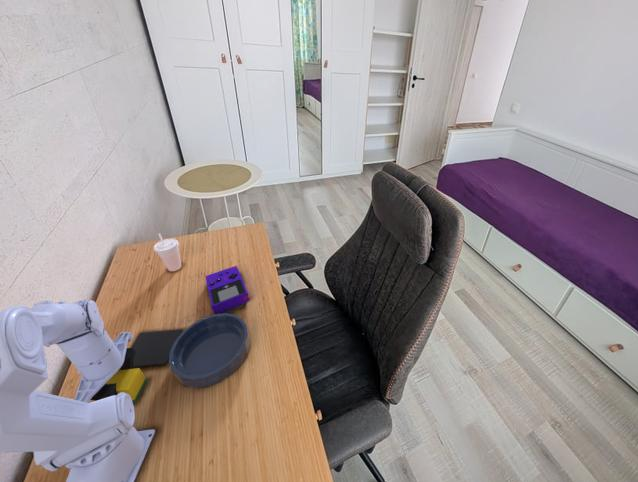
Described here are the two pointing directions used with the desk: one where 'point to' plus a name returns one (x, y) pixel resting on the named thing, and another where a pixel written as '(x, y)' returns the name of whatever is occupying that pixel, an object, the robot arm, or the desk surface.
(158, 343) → the mat
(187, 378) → the bowl
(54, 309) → the robot arm
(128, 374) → the sponge
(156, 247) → the smoothie
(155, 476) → the desk surface
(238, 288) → the handheld gaming console
